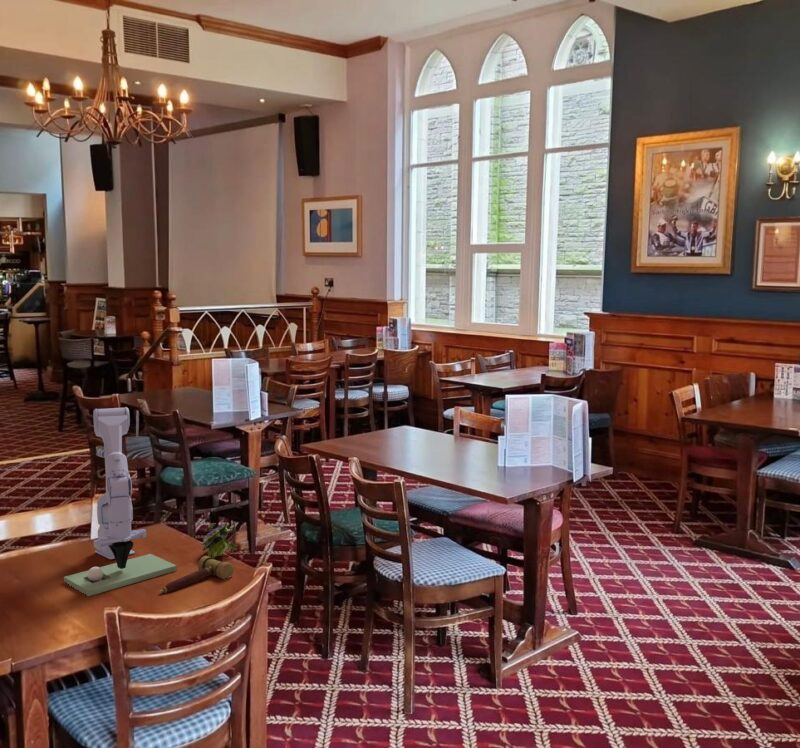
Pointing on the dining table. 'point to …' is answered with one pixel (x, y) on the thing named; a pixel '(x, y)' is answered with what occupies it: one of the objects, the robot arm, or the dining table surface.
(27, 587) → the dining table surface
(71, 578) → the putting mat
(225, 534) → the passion flower
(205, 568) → the gavel
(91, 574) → the ball
